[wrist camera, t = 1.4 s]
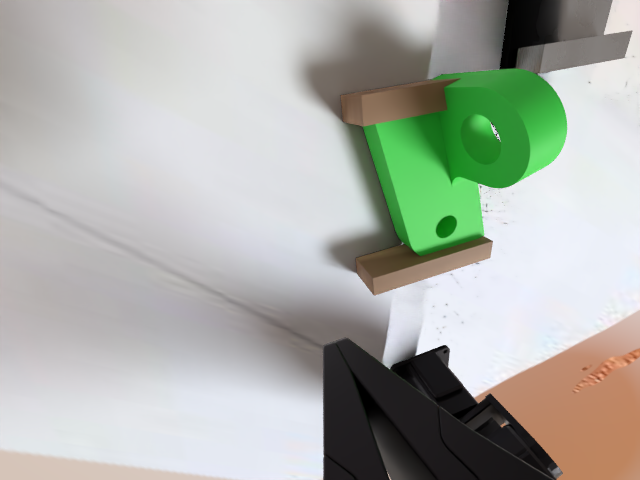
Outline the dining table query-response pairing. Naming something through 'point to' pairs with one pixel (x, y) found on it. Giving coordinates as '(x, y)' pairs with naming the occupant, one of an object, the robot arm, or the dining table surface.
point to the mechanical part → (464, 153)
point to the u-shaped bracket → (559, 35)
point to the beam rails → (401, 261)
